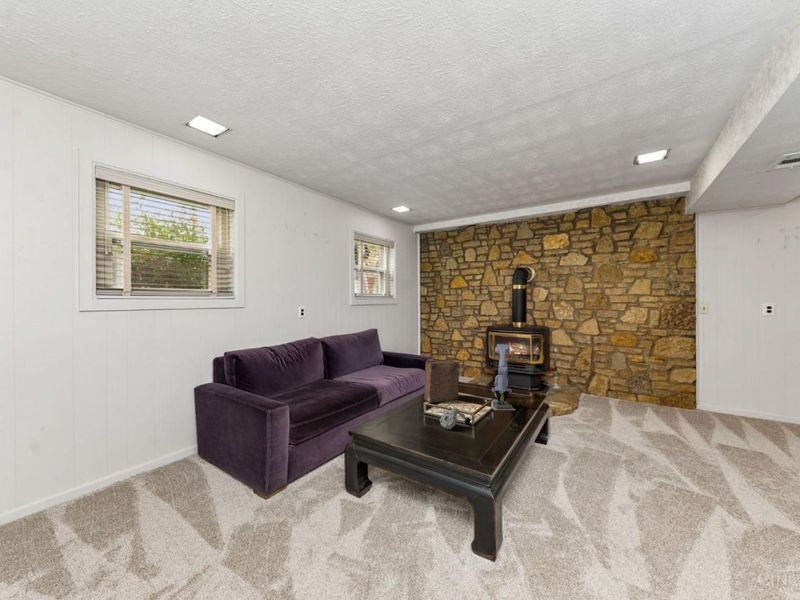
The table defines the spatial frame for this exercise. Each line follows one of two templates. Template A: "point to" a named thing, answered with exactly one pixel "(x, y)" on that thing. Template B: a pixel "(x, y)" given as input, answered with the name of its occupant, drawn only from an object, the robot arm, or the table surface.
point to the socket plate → (501, 406)
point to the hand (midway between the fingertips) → (501, 401)
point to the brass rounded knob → (501, 399)
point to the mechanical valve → (452, 418)
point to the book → (441, 381)
